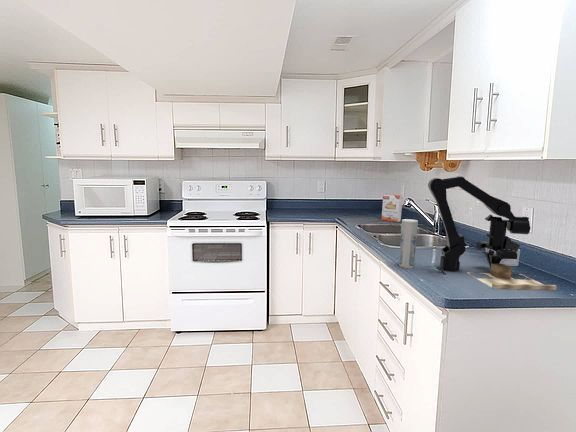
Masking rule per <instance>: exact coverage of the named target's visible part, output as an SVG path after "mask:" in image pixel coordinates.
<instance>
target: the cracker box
mask: <svg viewBox="0 0 576 432" xmlns="http://www.w3.org/2000/svg"><path fill="white" fill-rule="evenodd" d="M403 197H404V196H403V195H401V194H388V193H384V194H383V196H382V205H381V206H382V209H381V221H387V222H393V221H394V222H395V223H399V222H402V210H403Z"/></svg>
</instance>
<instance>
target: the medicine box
mask: <svg viewBox="0 0 576 432" xmlns="http://www.w3.org/2000/svg"><path fill="white" fill-rule="evenodd" d="M504 250H505V249H504ZM508 250H510V249H508ZM497 251H498V250H497ZM513 251H514V250H513ZM516 253H517V254H518V257H517V259H502V260H501V261H500V263H499V264H506V265H508V266H510V267H518V266H519V261H520V255H521V254H520V253H521V249H520V248H519V249H518V251H517V252H516Z"/></svg>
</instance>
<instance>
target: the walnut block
mask: <svg viewBox="0 0 576 432" xmlns="http://www.w3.org/2000/svg"><path fill="white" fill-rule="evenodd" d="M512 269H513V266H508V265H506V264H494V263H491V268H490V272H489V273H490V275H492V276H494V277H496V278H499V279H511V277H512Z"/></svg>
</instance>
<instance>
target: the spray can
mask: <svg viewBox="0 0 576 432" xmlns="http://www.w3.org/2000/svg"><path fill="white" fill-rule="evenodd" d="M418 225H419V221H418V220H417V219H408V218H405V219H403V218H402V219H401V227H400V229H401V230H400V244H399V245H400V246H399V260H398V265H399V267H400V268H404V269H413V268H412V267H414V268H415V260H416V250H417V249H416V247H417V238H418V237H417V236H418Z"/></svg>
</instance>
